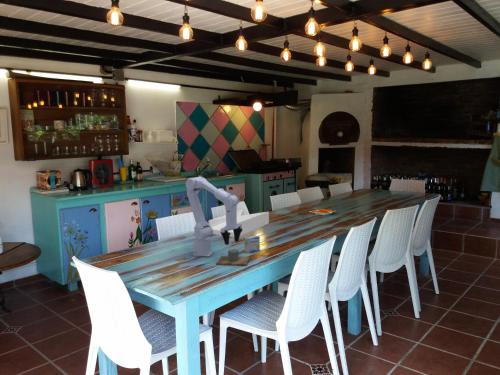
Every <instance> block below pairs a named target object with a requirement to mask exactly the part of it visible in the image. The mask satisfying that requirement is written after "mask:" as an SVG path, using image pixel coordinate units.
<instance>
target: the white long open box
mask: <svg viewBox="0 0 500 375" xmlns="http://www.w3.org/2000/svg"><path fill="white" fill-rule="evenodd" d="M208 223H209V224H210V227H211V228H212V230H213V234H212V235H217V236H222V235H221V228H223V227H225V226H226V214H224V215H221V216H219V217H214V218H212V219H209V220H208ZM237 224H242V232H241V234H240V237H241V236H243V235H245V234H248V233H251V232H252V231H255V230H257V229H259V228H261V227H263V226H266V225H268V224H270V211H264V212H263V211H262V212H257V213H251V214H245V209H243V208H242V209H239V210H237ZM228 232H229V233H230V236H229V238H231V237H232V238H234V232H233V230H230V231H228Z"/></svg>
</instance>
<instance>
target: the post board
mask: <svg viewBox="0 0 500 375" xmlns="http://www.w3.org/2000/svg"><path fill="white" fill-rule="evenodd" d="M250 260H251V257H250V256H239V260H238V261H235V262H231V261H228V255H227V256H226V255H221V256H220V257H219V258H218V260H217V262H216V263H215V265H216V266H233V267H235V266H237V267H238V266H239V267H247V266H248V264H249V262H250Z"/></svg>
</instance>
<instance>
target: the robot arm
mask: <svg viewBox="0 0 500 375" xmlns="http://www.w3.org/2000/svg"><path fill="white" fill-rule="evenodd" d="M185 186H186V195H187V199H188V201H189V205H190V210H192V211H191V212H192V214H193V215H192V216H193V217H194V220H195V221H194V222H195V225H194V228H193V229H194V237H195V238H194V240H193V242H192V243H193V244H192V248H193V249H192V250H193V257H210V256H211V255H212V254H213V253H214V251H212V248H211V238H212V236H213V235H214V234H213V230H212V228H211V227H210V224H209V221H206V219H205V214H204V212H203V208H202V205H201V201H200V198H199V195H198V194H199V192H200V191H201V190H202V189H204V190H206V191H208V192H210V193H211V194H213V195H214V198H215V199H217V200H219V201H220V202H222V203H223V205H224V207H225V215H226V226H225V227H223V228H221V235H220V236H221V237H222V239H223V242H224V245H227V246H228V245H229V244H230V233H229V232H228V231H230V230H233V232H234V237H233V238H234V241H235V242H236V243H238V242H239V240H240V237H241V236H240V234H241V232H242V224H237V211H238V208H237V206H238V205H239V203H240V202H239V198H238V196H237V195H235V194H231V193H229V192H227V191H226V190H225V189H224V188H217V187H216V186H214V185H213V184H211V183H210V182H209V181H208V180H207V179H206V178H205V177H204V176H197V177H189V178H187V180H186V181H185Z"/></svg>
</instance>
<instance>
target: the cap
mask: <svg viewBox="0 0 500 375" xmlns="http://www.w3.org/2000/svg"><path fill="white" fill-rule="evenodd" d="M227 256H228V261H231V262H235V261H238V260H239V257H240V255H239V249H236V248H232V249H231V248H229V249H228V252H227Z"/></svg>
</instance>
